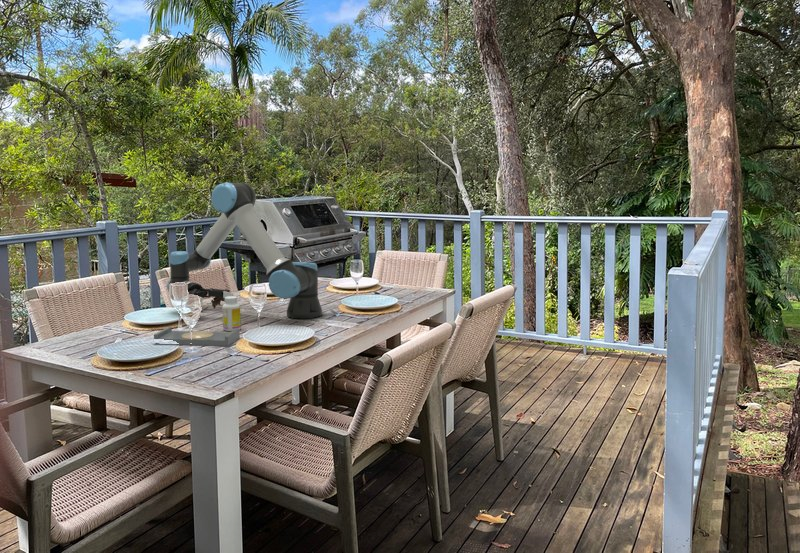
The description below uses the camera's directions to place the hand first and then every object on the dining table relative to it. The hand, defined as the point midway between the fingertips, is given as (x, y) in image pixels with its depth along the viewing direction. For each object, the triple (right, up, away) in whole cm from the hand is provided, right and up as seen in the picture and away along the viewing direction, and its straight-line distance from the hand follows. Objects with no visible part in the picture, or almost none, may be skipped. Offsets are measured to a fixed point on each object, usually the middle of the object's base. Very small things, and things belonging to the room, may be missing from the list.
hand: (217, 298), depth 255 cm
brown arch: (-7, -6, +35) cm, 36 cm away
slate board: (-1, -14, -22) cm, 27 cm away
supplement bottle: (+7, -12, -5) cm, 15 cm away
